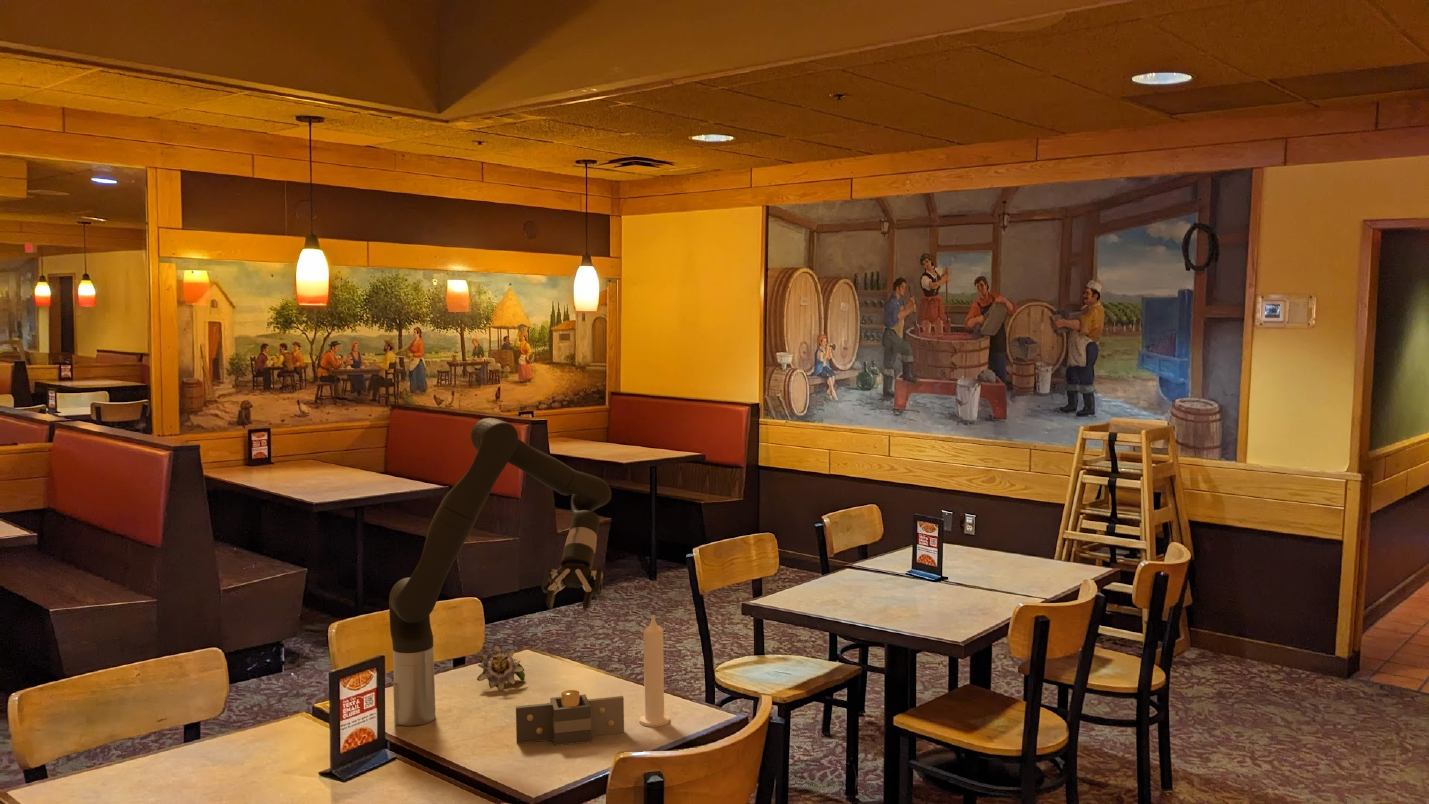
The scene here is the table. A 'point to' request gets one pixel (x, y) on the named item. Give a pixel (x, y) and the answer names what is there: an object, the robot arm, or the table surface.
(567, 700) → the amber cylinder
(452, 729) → the table surface
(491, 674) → the passion flower
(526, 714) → the hinge
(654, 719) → the candle
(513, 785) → the table surface
